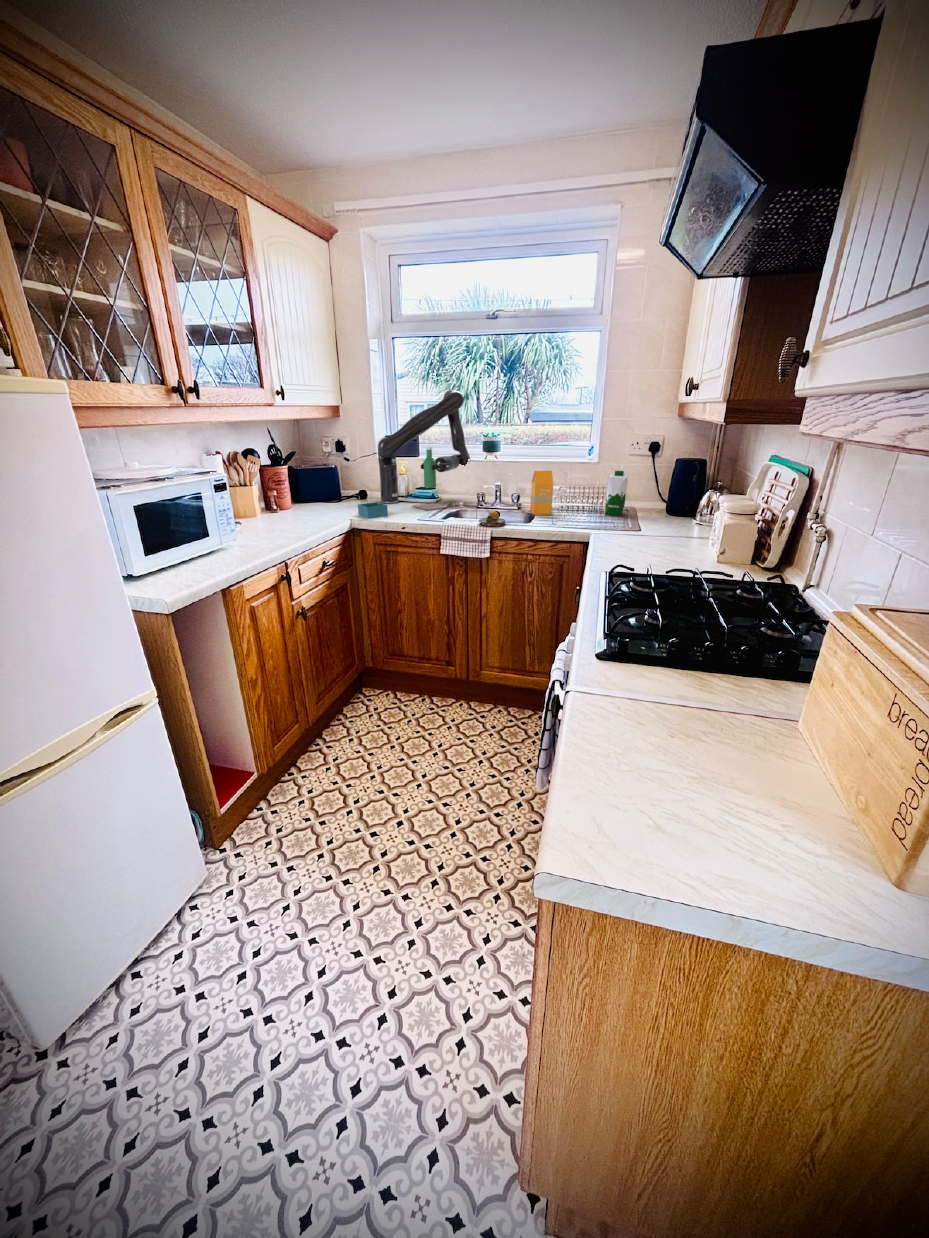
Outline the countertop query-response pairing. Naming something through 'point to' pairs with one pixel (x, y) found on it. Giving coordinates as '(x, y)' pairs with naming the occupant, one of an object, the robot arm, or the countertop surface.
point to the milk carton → (616, 493)
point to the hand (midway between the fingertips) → (426, 467)
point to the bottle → (429, 470)
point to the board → (430, 506)
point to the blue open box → (372, 510)
